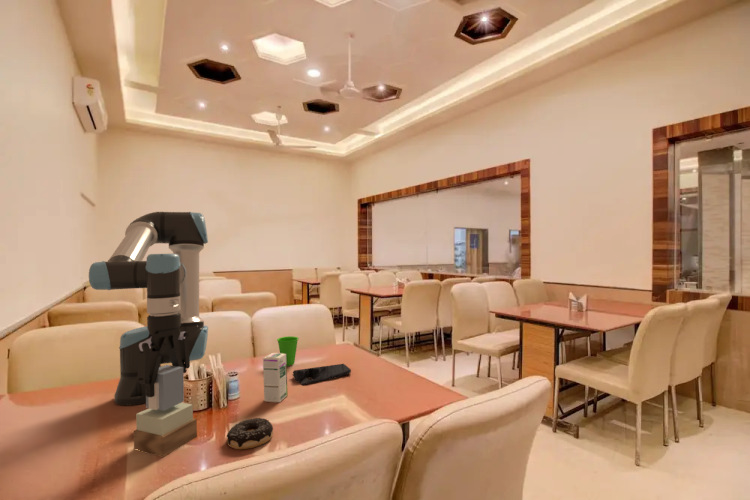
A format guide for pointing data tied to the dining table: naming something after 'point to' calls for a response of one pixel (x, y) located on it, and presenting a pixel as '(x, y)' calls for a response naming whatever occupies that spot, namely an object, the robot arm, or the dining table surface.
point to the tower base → (165, 439)
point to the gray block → (169, 387)
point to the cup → (288, 348)
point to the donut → (250, 433)
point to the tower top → (164, 419)
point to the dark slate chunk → (320, 373)
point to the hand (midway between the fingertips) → (165, 403)
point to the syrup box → (275, 377)
